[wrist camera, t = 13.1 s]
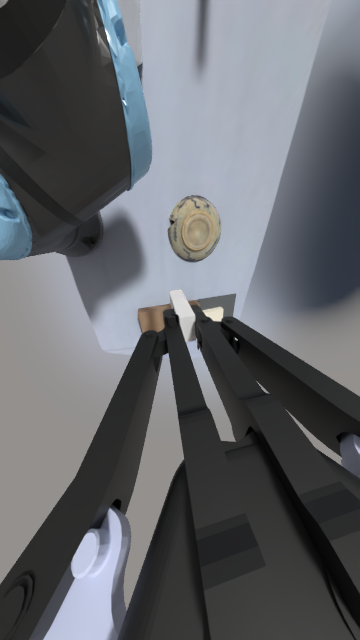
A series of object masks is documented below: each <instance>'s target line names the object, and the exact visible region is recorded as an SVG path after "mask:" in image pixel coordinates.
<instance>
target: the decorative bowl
mask: <svg viewBox="0 0 360 640" xmlns="http://www.w3.org/2000/svg"><path fill="white" fill-rule="evenodd" d="M169 219H170V220H172V221H174V222H175V223H174V224H173V225H171V226H170V228H169V229H168V237H169V241H170V244H171V247H172V248H173V250H174V251H175V253H176V254H177V255H178V256H180V257H181V258H183V259H185V260H188V261H199V260H202V259H204V258H206V257H207V256H209V255H210V254H211V253H212V251H213V250H214V249H215V247H216V245H217V243H218V241H219V239H220V234H221V222H220V218H219V215H218V213H217V211H216V209H215V207H214V206H213V205H212V204H211V203H210V202H209V201H208V200H207V199H206V198H204V197H201V196H197V195H192V196H188V197H185V198H184V199H182V200H181V201H180V202H178V204H177V205H176V206H175V207H174V209H173V211H172V213H171V215H170V218H169Z"/></svg>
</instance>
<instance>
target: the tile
mask: <svg viewBox="0 0 360 640" xmlns="http://www.w3.org/2000/svg"><path fill="white" fill-rule="evenodd" d="M202 311H203V312H204V314H205V315H206V316H207V317H210V318H211V319H212V320H213V321H221V319H222V318H223V308H222V307H217V308H212V309H207V310H202Z"/></svg>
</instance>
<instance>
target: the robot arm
mask: <svg viewBox="0 0 360 640" xmlns="http://www.w3.org/2000/svg"><path fill="white" fill-rule="evenodd" d="M151 161H152V140H151V132H150V125H149V119H148V113H147V108H146V103H145V99H144V94H143V90H142V85H141V81H140V77H139V73H138V69H137V65H136V62H135V58H134V55H133V52H132V49H131V47H130V46H129V45H128V42H127V37H126V32H125V28H124V23H123V18H122V15H121V12H120V9H119V6H118V3H117V0H0V260H19V259H21V258H25V257H28V256H34V255H39V254H45V253H50V252H57V253H60V254H63V255H67V256H82V255H86V254H89V253H91V252H93V251H94V250H95V249H96V248H97V247H98V246H99V244H100V242H101V240H102V236H103V223H102V218H101V215H100V212H99V211H100V210H101V209H102V208H104V207H105V206H106V205H108V204H109V203H110V202H111V201H113V200H114V199H115V198H117V197H118V196H119V195H121V194H122V193H123V192H124V191H126V190H127V191H130V190H131V189H132V187H133V186H134V184H135V183H136V182H137V181H139V180H140V179H141V178H142V177H143V176H144V175H145V174H146V173H147V172H148V170H149V167H150V164H151ZM169 294H170V302H171V309H167V310H164V311H163V320H164V326H165V327H164V329H163V330H161V331H159V332H156V331H154V330H148V331H145V332H144V333H143V334H142V335H141V337H140V339H139V341H138V343H137V346H136V348H135V350H134V352H133V354H132V356H131V359H130V361H129V363H128V365H127V367H126V369H125V371H124V373H123V376H122V378H121V380H120V382H119V384H118V386H117V389H116V391H115V393H114V395H113V397H112V399H111V402H110V404H109V406H108V408H107V410H106V412H105V415H104V417H103V419H102V421H101V423H100V426H99V427H98V430H97V432H96V434H95V436H94V438H93V440H92V443H91V445H90V447H89V449H88V451H87V453H86V456H85V457H84V460H83V462H82V464H81V466H80V468H79V470H78V473H77V475H76V477H75V479H74V480H73V481H72V483H71V484H70V485H69V487H68V488H67V490H66V491H65V493H64V494H63V496H62V497H61V498H60V500H59V501H58V503H57V504H56V506H55V507H54V508H53V510H52V512H51V513H50V514H49V516H48V517H47V518H46V520H45V521H44V523H43V524H42V526H41V527H40V529H39V530H38V531H37V533H36V534H35V536H34V537H33V539H32V540H31V541H30V543H29V544H28V546H27V547H26V549H25V550H24V551H23V553H22V554H21V556H20V557H19V558H18V560H17V561H16V563H15V564H14V566H13V567H12V569H11V570H10V571H9V573H8V574H7V576H6V577H5V579H4V580H3V581H2V583H1V584H0V640H360V397H359V396H358V395H356V394H355V393H353V392H352V391H350V390H348V389H347V388H345V387H344V386H342V385H340V384H339V383H337V382H335V381H334V380H332V379H331V378H329V377H328V376H326V375H325V374H323V373H321V372H320V371H318V370H317V369H315V368H314V367H312V366H310V365H309V364H307V363H305V362H304V361H302V360H301V359H299V358H298V357H296V356H294V355H293V354H291V353H290V352H288V351H287V350H285V349H283V348H282V347H280V346H279V345H277V344H275V343H273V342H272V341H271V340H269V339H268V338H266V337H264V336H263V335H261V334H260V333H258V332H257V331H255V330H253V329H252V328H250V327H249V326H247V325H245V324H244V323H242V322H240V321H239V320H238V319H236V318H234V317H230V316H227V317H223V318H222V319H221V321H213V320H212V319H211V318H210V317H207V316H206V315H205V314H204V312H203V311H202V309H201V308H200V306H198V305H189V303H188V301H187V299H186V298H185V296H184V294H183V292H182V290H181V289H180V290H174V291H169ZM196 337H197V348H198V350H199V348H200V351H201V353H202V355H203V358H204V360H205V362H206V365H207V367H208V370H209V372H210V374H211V377H212V379H213V381H214V384H215V386H216V389H217V391H218V393H219V395H220V398H221V400H222V402H223V405H224V407H225V410H226V412H227V415H228V417H229V419H230V422H231V425H232V430H233V435H234V438H235V440H236V442H228V441H221V440H220V437H219V434H218V431H217V428H216V425H215V422H214V419H213V417H212V414H211V412H210V410H209V409H208V407H207V406H206V403H205V400H204V397H203V394H202V391H201V388H200V384H199V381H198V378H197V375H196V372H195V369H194V366H193V363H192V360H191V357H190V354H189V351H188V348H187V345H186V342H188V341H194V340H196ZM235 338H237V339H238V341H237V340H235ZM167 353H169V358H170V364H171V372H172V378H173V385H174V391H175V398H176V404H177V411H178V419H179V426H180V433H181V440H182V446H183V453H184V460H183V461H182V463H181V464H180V466H179V467H178V469H177V470H176V473H175V475H174V477H173V479H172V482H171V484H170V487H169V490H168V493H167V496H166V499H165V502H164V505H163V508H162V511H161V514H160V517H159V520H158V523H157V525H156V529H155V531H154V534H153V537H152V540H151V543H150V546H149V549H148V551H147V554H146V558H145V560H144V563H143V566H142V569H141V572H140V575H139V578H138V581H137V584H136V586H135V590H134V592H133V595H132V598H131V601H130V604H129V607H128V610H127V611H126V607H125V603H124V591H123V584H124V573H125V568H126V563H127V558H128V555H129V550H130V543H131V530H130V525H129V521H128V519H127V518H126V516H125V514H126V511H127V508H128V505H129V502H130V499H131V496H132V493H133V490H134V486H135V482H136V477H137V474H138V469H139V465H140V460H141V455H142V450H143V446H144V441H145V437H146V431H147V427H148V423H149V418H150V413H151V409H152V404H153V399H154V395H155V390H156V385H157V380H158V376H159V371H160V367H161V362H162V356H163V355H165V354H167ZM256 381H257V382H258V383H259V384H261V385H262V386H263V387H264V388H265V389H266V390H267V391H268V392H269V393H270V394H267V393H265V392H264V391H263V390H262V389H261V387H260V386H259V384H258V383H257V382H256ZM286 410H287V411H288V412H289V413H291V414H292V415H293V416H294V417H295V418H296V419H297V420H298V421H299V422H300V423H301V424H302V425H303V426H304V427H305V428H306V429H307V430H308V431H309V432H311V433H312V434H313V435H314V436H315V437H316V438H317V439H318V440H320V441H321V442H322V443H323V444H325V445H326V446H327V447H328V448H330V449H331V450H332V451H334V452H335V453H337V454H338V455H339V456H341V457H342V458H343V459H342V460H341V463H342V466H343V467H342V466H341V465H339V464H338V463H337V462H335V461H334V460H332V459H331V458H329V457H328V456H326V455H325V454H323V453H322V452H320V451H319V450H317V449H316V448H315V447H314V446H313V445H312V443H311V442H310V441H309V439H308V438H307V437H306V435H305V434H304V433H303V431H302V430H301V429H300V428H299V426H298V425H297V424H296V423H295V421H294V420H293V418H292V417H291V416H290V415H289V413H288V412H287V411H286Z"/></svg>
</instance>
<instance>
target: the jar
mask: <svg viewBox="0 0 360 640" xmlns="http://www.w3.org/2000/svg"><path fill="white" fill-rule="evenodd" d="M117 3H118V6H119V9H120V12H121V15H122V18H123V23H124V28H125V32H126V37H127V42H128V45H129V46H130V47H131V49H132V52H133V55H134V58H135V62H136V65H137V67H138V66H139V65H140V64H142V62H143V57H142V37H141V17H140V0H117Z"/></svg>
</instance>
